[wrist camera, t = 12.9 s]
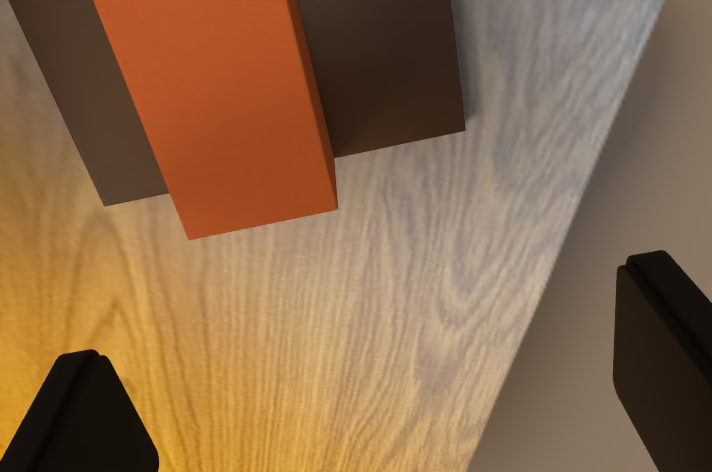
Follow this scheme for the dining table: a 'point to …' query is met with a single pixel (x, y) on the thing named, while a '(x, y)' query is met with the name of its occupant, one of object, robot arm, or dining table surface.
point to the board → (330, 65)
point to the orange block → (226, 108)
